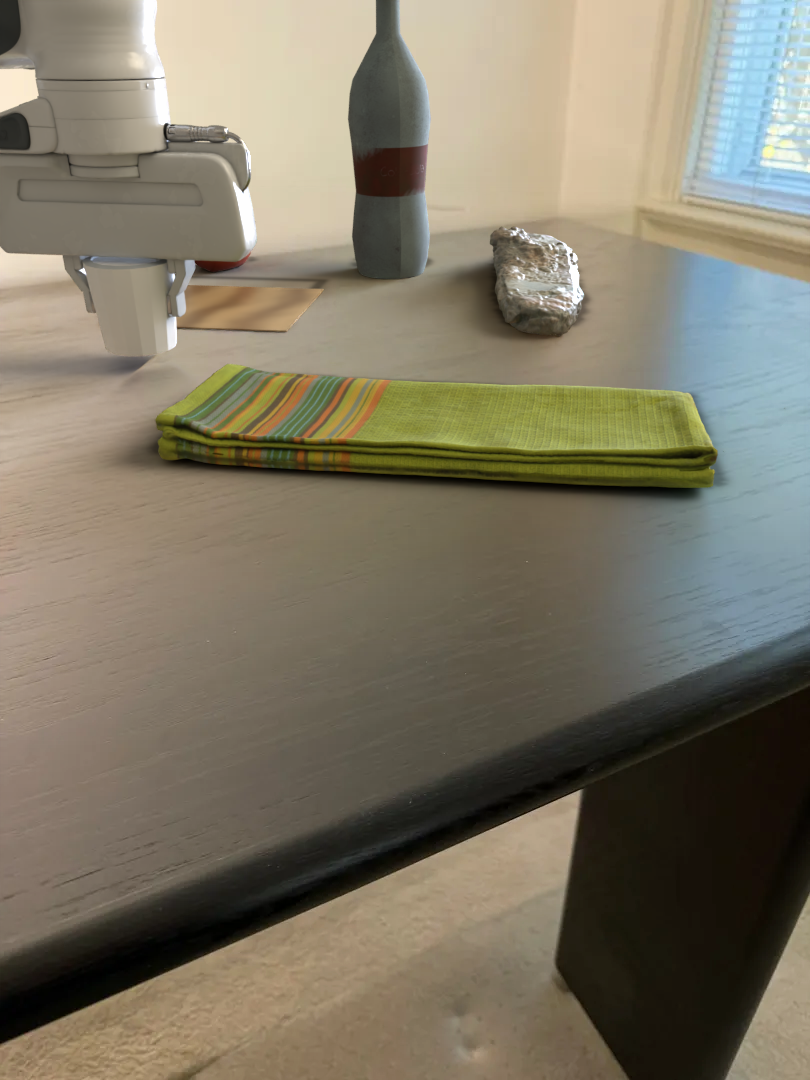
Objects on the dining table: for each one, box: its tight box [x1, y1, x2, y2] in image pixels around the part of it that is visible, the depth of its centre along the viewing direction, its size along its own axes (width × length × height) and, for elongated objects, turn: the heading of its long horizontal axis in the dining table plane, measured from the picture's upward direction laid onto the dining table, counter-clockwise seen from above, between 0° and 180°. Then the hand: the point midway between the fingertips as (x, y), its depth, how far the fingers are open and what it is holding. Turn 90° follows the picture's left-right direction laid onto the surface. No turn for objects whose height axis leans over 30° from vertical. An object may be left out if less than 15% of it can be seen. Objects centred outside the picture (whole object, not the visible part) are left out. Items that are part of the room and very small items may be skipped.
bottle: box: [347, 0, 432, 280], centre depth 98 cm, size 9×9×30 cm
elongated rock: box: [489, 226, 585, 337], centre depth 96 cm, size 35×5×10 cm
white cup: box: [83, 256, 178, 357], centre depth 71 cm, size 7×7×7 cm
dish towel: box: [154, 363, 719, 489], centre depth 62 cm, size 15×36×3 cm, turn 81°
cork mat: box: [176, 284, 325, 333], centre depth 92 cm, size 18×16×1 cm
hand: (136, 313), depth 71 cm, fingers closed on white cup, 5 cm apart
